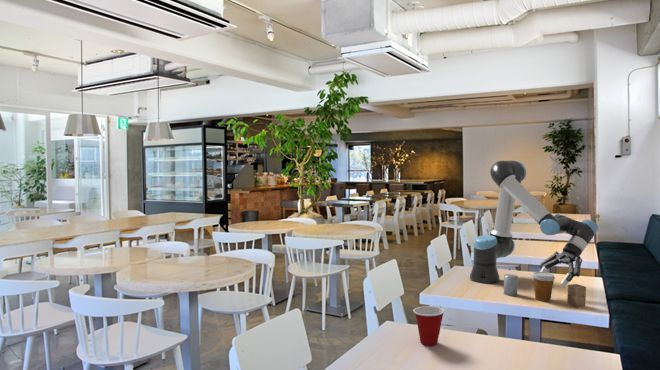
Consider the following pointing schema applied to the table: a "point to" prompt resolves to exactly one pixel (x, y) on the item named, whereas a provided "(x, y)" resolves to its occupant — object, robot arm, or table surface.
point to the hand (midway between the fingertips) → (549, 282)
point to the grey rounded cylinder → (510, 284)
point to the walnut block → (576, 295)
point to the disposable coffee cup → (543, 285)
